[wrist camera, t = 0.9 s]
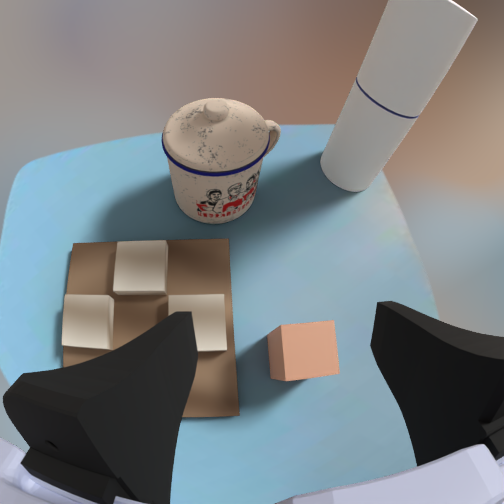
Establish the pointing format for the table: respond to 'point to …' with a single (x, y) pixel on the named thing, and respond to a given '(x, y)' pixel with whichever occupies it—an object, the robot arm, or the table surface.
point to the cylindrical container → (393, 86)
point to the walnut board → (155, 307)
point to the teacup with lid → (216, 157)
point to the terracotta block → (303, 351)
